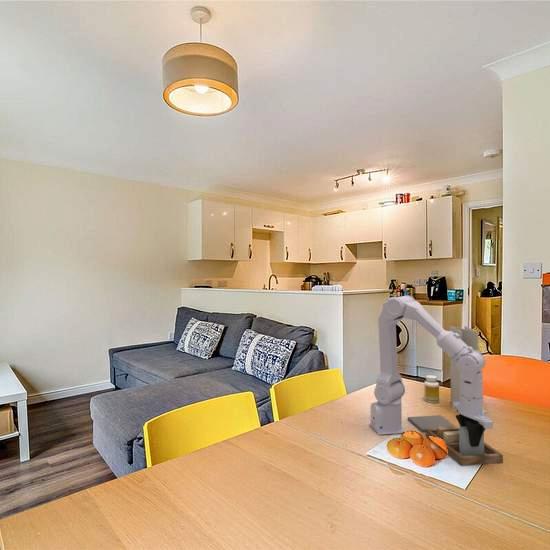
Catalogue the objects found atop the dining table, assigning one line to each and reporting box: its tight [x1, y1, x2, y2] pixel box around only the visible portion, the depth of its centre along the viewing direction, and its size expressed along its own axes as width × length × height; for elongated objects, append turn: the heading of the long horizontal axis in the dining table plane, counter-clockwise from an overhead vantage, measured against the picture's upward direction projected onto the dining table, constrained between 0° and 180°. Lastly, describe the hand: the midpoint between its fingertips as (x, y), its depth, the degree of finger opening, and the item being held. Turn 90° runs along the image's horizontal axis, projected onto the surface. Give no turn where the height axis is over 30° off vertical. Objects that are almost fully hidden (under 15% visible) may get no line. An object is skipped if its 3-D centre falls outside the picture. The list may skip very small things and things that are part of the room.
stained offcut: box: [437, 425, 460, 439], centre depth 111 cm, size 8×2×4 cm, turn 96°
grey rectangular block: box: [458, 426, 485, 456], centre depth 101 cm, size 6×2×8 cm, turn 96°
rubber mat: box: [407, 414, 456, 434], centre depth 122 cm, size 12×10×1 cm
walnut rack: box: [425, 428, 504, 467], centre depth 106 cm, size 12×18×2 cm, turn 6°
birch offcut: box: [443, 431, 459, 443], centre depth 107 cm, size 8×2×4 cm, turn 96°
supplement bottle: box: [423, 374, 440, 404], centre depth 144 cm, size 5×5×10 cm
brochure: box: [449, 325, 479, 413], centre depth 135 cm, size 14×6×30 cm, turn 168°
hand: (471, 443), depth 101 cm, fingers closed on grey rectangular block, 2 cm apart
